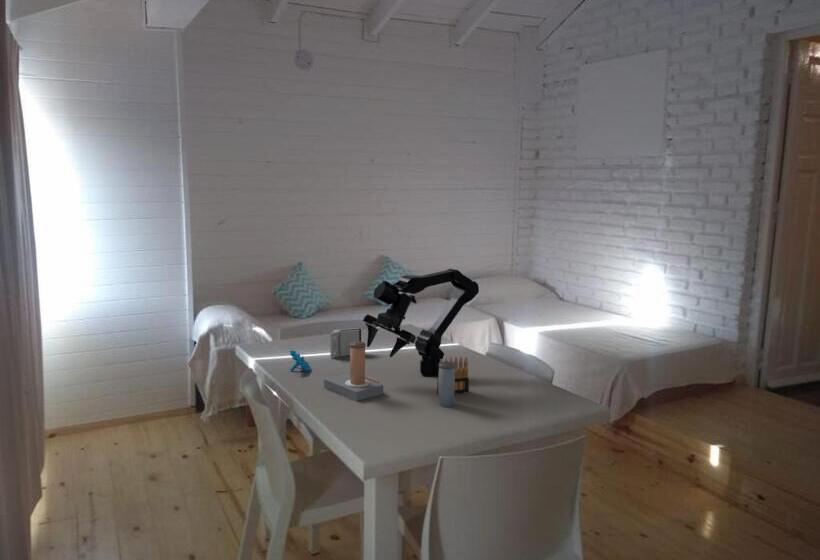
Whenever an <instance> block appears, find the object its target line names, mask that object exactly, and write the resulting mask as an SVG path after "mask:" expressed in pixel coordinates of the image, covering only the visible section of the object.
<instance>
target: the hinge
mask: <svg viewBox="0 0 820 560" xmlns="http://www.w3.org/2000/svg"><path fill="white" fill-rule="evenodd" d="M329 334H330V337H329V338H330V339H329V342H330V344H329V345H330V347H329V348H330V351H329V352H330V357H329V358H333V359H335V357H336V358H338V356H339V357H346V355H349V356H350V343H351V342H362V328H358V327H354V328H342V329H333V330H332V332H330V333H329Z"/></svg>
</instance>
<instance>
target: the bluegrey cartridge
mask: <svg viewBox="0 0 820 560" xmlns="http://www.w3.org/2000/svg"><path fill="white" fill-rule="evenodd" d="M455 395H456V394H455V363H454V361H453V362H450V361H448V362H445V361H442V362H440V363H439V395H438V405H439V406H440V407H443V408H451V407H455V403H456V402H455V401H456V400H455Z"/></svg>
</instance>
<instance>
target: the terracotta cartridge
mask: <svg viewBox="0 0 820 560" xmlns="http://www.w3.org/2000/svg"><path fill="white" fill-rule="evenodd" d="M349 360H350V361H349V362H350V363H349V366H350V367H349V369H350V370H349V373H350V383H351V384H354V385H361V384H364V383H365V376H366V342H363V341H361V342H351V343H350V355H349Z"/></svg>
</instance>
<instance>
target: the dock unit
mask: <svg viewBox="0 0 820 560" xmlns="http://www.w3.org/2000/svg"><path fill="white" fill-rule="evenodd" d="M323 388H324V389H326V390H329V391H331V392H334V393H335V394H338V395H341V396H343V397H345V398H347V399H350V400H352V401H355V402H359V401H362V400H366V399H369V398H373V397H374V398H375V397H377V396H381V395H384V385H383V384H381V383H380V381H379V380H377V379H375V378H372V377H370V376H366V375H365V383H364V384H361V385H354V384H351V383H350V372H349V373H345V374H342V375H336V376H332V377H328V378H327V377H326V378H324V379H323Z"/></svg>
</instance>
